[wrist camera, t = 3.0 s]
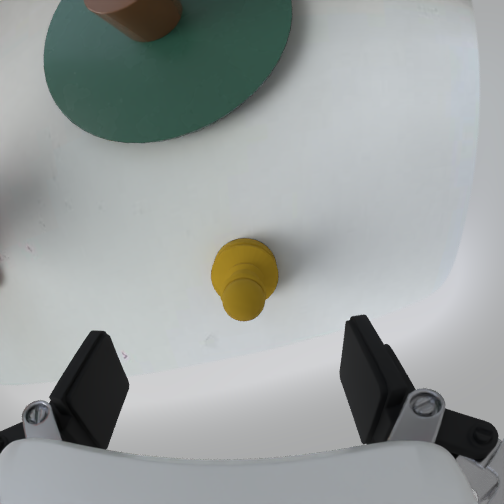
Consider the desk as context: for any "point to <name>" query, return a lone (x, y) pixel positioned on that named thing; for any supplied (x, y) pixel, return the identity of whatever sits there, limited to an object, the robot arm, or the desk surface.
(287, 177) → the desk surface
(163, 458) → the robot arm
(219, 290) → the chess piece
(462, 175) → the desk surface
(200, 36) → the tin lid
